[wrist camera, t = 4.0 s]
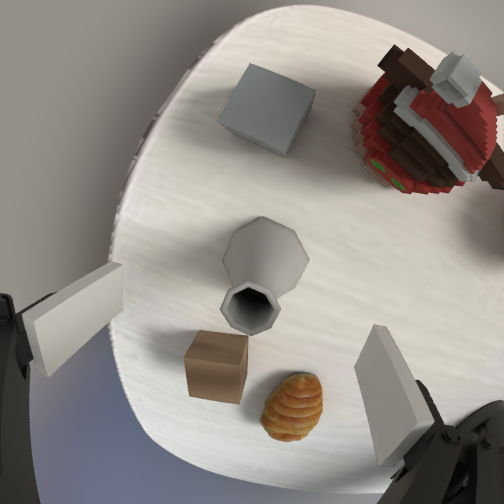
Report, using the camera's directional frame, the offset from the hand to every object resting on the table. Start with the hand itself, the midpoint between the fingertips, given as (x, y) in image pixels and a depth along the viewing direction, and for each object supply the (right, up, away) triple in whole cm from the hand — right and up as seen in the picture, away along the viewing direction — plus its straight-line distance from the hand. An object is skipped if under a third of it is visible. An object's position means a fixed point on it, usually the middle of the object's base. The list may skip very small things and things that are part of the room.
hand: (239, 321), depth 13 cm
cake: (+13, +13, +7) cm, 20 cm away
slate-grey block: (+2, +14, +8) cm, 17 cm away
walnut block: (-2, -7, +15) cm, 17 cm away
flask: (+2, +3, +12) cm, 12 cm away
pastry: (+5, -14, +16) cm, 22 cm away
